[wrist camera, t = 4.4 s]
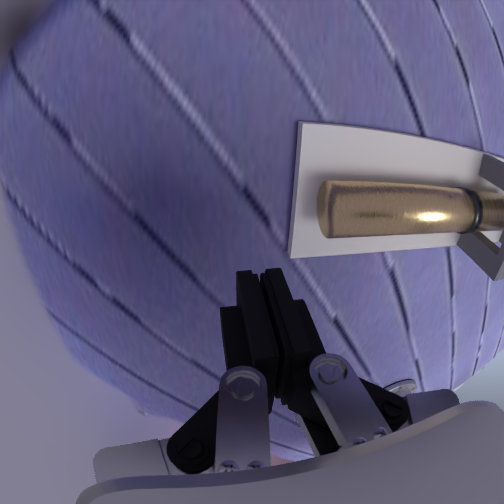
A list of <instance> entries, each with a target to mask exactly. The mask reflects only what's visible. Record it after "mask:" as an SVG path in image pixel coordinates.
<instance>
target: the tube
mask: <svg viewBox="0 0 504 504" xmlns="http://www.w3.org/2000/svg"><path fill="white" fill-rule="evenodd" d="M317 219H318V224H319V227H320V230H321V232H322V234H323V235H324V237H325V238H327V239H333V238H351V237H371V236H391V235H412V234H433V233H458V234H469V233H473V232H480V231H504V194H499V193H492V192H485V191H477V190H473V189H471V188H465V187H456V188H450V187H440V186H429V185H416V184H402V183H386V182H365V181H330V180H326V181H324V182H323V183H322V184H321V186H320V188H319V191H318V196H317Z"/></svg>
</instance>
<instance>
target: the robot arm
mask: <svg viewBox="0 0 504 504" xmlns="http://www.w3.org/2000/svg"><path fill="white" fill-rule="evenodd" d="M236 291H237V306H230V307H220V317H221V329H222V339H223V347H224V354H225V362H226V370H227V372H225V373H224V374H223V376H222V377H221V380H220V384H219V390H218V391H217V392H216V393H215V394H214V395H213V396H212V397H211V398H210V399H209V400H208V401H207V402H206V403H205V404H204V405H203V406H202V407H201V408H200V409H199V410H198V411H197V412H196V413H195V414H194V415H193V416H192V417H191V418H190V419H189V420H188V421H187V422H186V423H185V424H184V425H183V426H182V427H181V428H180V429H179V430H178V431H177V432H175V433H174V434H173V435H172V437H171V438H167V439H162V440H158V439H153V440H148V441H143V442H138V443H132V444H126V445H120V446H114V447H107V448H104V449H101V450H100V451H98V452H97V453H96V455H95V457H94V460H93V465H94V471H95V476H96V480H97V484H95V485H93V486H91V487H88V488H87V489H85V490H84V491H83V492H82V493H81V494H80V495H79V497H78V499H77V501H76V504H504V412H503V410H502V409H501V408H500V407H499V406H497V405H496V404H495V403H492V402H489V401H469V402H465V403H461V404H460V403H459V399H458V397H457V395H456V394H455V393H454V392H453V391H451V390H449V389H441V390H434V391H428V392H420V393H414V392H415V390H416V388H417V385H416V383H415V382H414V381H413V380H405V381H401V382H398V383H395V384H393V385H391V386H389V387H387V388H385V389H384V388H381V387H379V386H377V385H375V384H372V383H370V382H368V381H366V380H363V379H361V378H359V377H358V376H357V375H356V373H355V371H354V370H353V368H352V367H351V365H350V364H349V363H348V361H347V360H346V359H344V358H343V357H341V356H339V355H336V354H330V353H327V354H326V352H325V349H324V347H323V344H322V342H321V340H320V337H319V335H318V332H317V330H316V327H315V325H314V323H313V320H312V318H311V315H310V313H309V311H308V308H307V306H306V303H305V302H304V300H303V299H300V300H293V298H292V295H291V293H290V290H289V288H288V285H287V282H286V280H285V277H284V275H283V272H282V270H281V268H272V269H266V270H265V273H261V274H260V282H259V278H258V275H257V274H252V271H251V270H247V271H237V272H236ZM274 396H275V397H276V399H278V398H281V402H282V405H286V404H287V405H288V408H289V409H290V410H291V411H293V412H295V414H296V418H297V420H298V422H299V424H300V426H301V428H302V430H303V432H304V434H305V437H306V439H307V441H308V443H309V445H310V447H311V449H312V451H313V453H314V455H315V457H314V458H310V459H306V460H301V461H296V462H292V463H286V464H281V465H276V466H271V458H270V435H269V414H270V413H271V411H272V406H273V401H274Z"/></svg>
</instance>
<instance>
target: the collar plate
mask: <svg viewBox="0 0 504 504" xmlns="http://www.w3.org/2000/svg"><path fill="white" fill-rule="evenodd" d="M326 180H330V181H365V182H386V183H402V184H416V185H429V186H440V187H450V188H456V187H465V188H471V189H473V190H477V191H485V192H492V193H499V194H504V158H503V157H500V156H496V155H493V154H490V153H487V152H483V151H480V150H476V149H473V148H469V147H465V146H461V145H458V144H453V143H449V142H445V141H441V140H436V139H432V138H427V137H422V136H417V135H412V134H406V133H401V132H395V131H389V130H382V129H375V128H368V127H360V126H352V125H342V124H332V123H320V122H305V121H298V135H297V149H296V162H295V175H294V187H293V199H292V210H291V220H290V231H289V241H288V251H287V252H288V254H289V257H290V258H304V257H317V256H331V255H344V254H357V253H370V252H383V251H395V250H408V249H420V248H432V247H444V246H455V245H458V246H459V247H460V248H461V249H462V250H463V251H464V252H465V253H466V254H467V255H468V256H469V257H470V258H471V259H472V260H473V261H474V262H475V263H476V264H477V265H478V266H479V267H480V268H481V269H482V270H483V271H484V272H485V273H486V274H487V275H488V276H489V277H490V278H491V279H492V280H493V281H496V280H500V279H503V277H504V231H480V232H473V233H469V234H458V233H433V234H412V235H391V236H371V237H351V238H333V239H327V238H325V237H324V235H323V234H322V232H321V230H320V227H319V224H318V219H317V196H318V191H319V188H320V186H321V184H322V183H323V182H324V181H326ZM493 242H501V243H502V245H501V248H499V247H498V246H496V245H495V244H494V243H493Z"/></svg>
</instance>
